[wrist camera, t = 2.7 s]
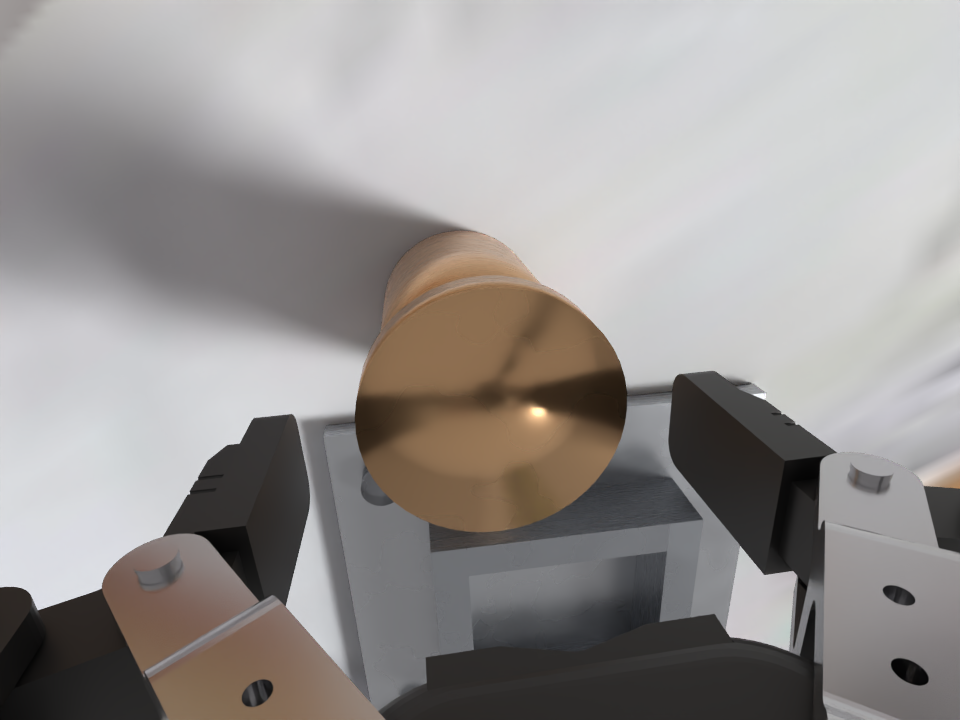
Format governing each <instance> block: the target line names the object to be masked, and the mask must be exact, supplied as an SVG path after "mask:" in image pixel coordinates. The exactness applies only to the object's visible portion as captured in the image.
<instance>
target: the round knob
mask: <svg viewBox="0 0 960 720" xmlns="http://www.w3.org/2000/svg"><path fill="white" fill-rule="evenodd" d="M626 413H627V389H626V383H625V377H624V374H623V370H622V367H621V364H620V361H619V359H618V357H617V355H616V353H615V351H614V349H613V347H612V346H611V344H610V343H609V341H608V340H607V338H606V337H605V336H604V334H603V333H602V332H601V331H600V330H599V329H598V328H597V327H596V326H595V325H594V323H593V322H592V321H591V320H590V319H589V318H588V317H587V316H586V315H585V314H584V313H583V312H582V311H581V310H580V309H579V308H578V307H577V306H576V305H575V304H574V303H572V302H571V301H570V300H569V299H567V298H566V297H565V296H563V295H561V294H560V293H558V292H556V291H554V290H553V289H551V288H549V287H546V286H544V285H541V284H540V283H539V281H538V280H537V279H536V278H535V277H534V276H533V274H532V273H531V272H530V271H529V270H528V269H527V267H526V266H525V265H524V264H523V263H522V261H521V260H520V259H519V258H518V257H517V256H516V255H515V254H514V253H513V251H512V250H511V249H509V248H508V247H507V246H506V245H504V244H503V243H501V242H500V241H498V240H496V239H495V238H492V237H490V236H487V235H485V234H481V233H478V232H472V231H449V232H443V233H440V234H436V235H433V236H431V237H429V238H426V239H424V240H423V241H421V242H419V243H418V244H416V245H415V246H414V247H412V248H411V249H410V250H409V251H408V252H407V253H406V254H405V255H404V256H403V257H402V258H401V259H400V260H399V262H398V263H397V265H396V266H395V268H394V270H393V271H392V273H391V275H390V278H389V281H388V283H387V287H386V292H385V299H384V307H383V315H382V324H381V332H380V333H379V335H378V336H377V338H376V340H375V341H374V343H373V345H372V347H371V349H370V350H369V353H368V355H367V358H366V361H365V363H364V366H363V370H362V374H361V379H360V384H359V389H358V395H357V401H356V411H355V428H356V437H357V442H358V446H359V450H360V453H361V456H362V458H363V461H364V463H365V466H366V467H367V469H368V471H369V473H370V474H371V476H372V478H373V479H374V481H375V482H376V483H377V484H378V486H379V487H380V488H381V490H382V491H383V492H384V493H385V494H386V495H387V496H388V497H389V498H390V499H391V500H392V501H393V502H395V503H396V504H397V505H399V506H400V507H401V508H403V509H404V510H406V511H407V512H409V513H411V514H412V515H414V516H416V517H418V518H420V519H422V520H424V521H427V522H429V523H432V524H434V525H438V526H441V527H445V528H449V529H454V530H460V531H467V532H493V531H503V530H508V529H514V528H518V527H522V526H525V525H529V524H532V523H534V522H537V521H539V520H542V519H544V518H547V517H549V516H551V515H552V514H554V513H556V512H558V511H560V510H562V509H563V508H565V507H566V506H568V505H569V504H571V503H572V502H574V501H575V500H576V499H577V498H578V497H580V496H581V495H582V494H583V493H584V492H586V491H587V490H588V489H589V488H590V486H591V485H592V484H593V483H594V482H595V481H596V480H597V479H598V478H599V476H600V475H601V474H602V472H603V471H604V470H605V468H606V467H607V466H608V464H609V462H610V460H611V459H612V457H613V455H614V454H615V451H616V449H617V447H618V444H619V442H620V440H621V436H622V433H623V429H624V426H625V420H626Z"/></svg>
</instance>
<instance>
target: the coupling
mask: <svg viewBox="0 0 960 720" xmlns="http://www.w3.org/2000/svg"><path fill="white" fill-rule="evenodd" d="M735 387H737V388H738V389H739V390H742V391H744V392H747V393H749V394H752V395H754V396H757V397H759V398H761V399H764V400H765V397H766V393H765V392H764V391H763V390H761V389H760V388H759V387H757V386H756V385H755V384H747V385H737V386H735ZM671 401H672V392H665V393H655V394H645V395H635V396H627V413H626V420H625V426H624V429H623V433H622V436H621V440H620V442H619V444H618V447H617V449H616V451H615V454H614V455H613V457H612V459H611V460H610V462H609V464H608V466H607V467H606V468H605V470H604V471H603V472H602V474H601V475H600V476H599V478H598V479H597V480H596V481H595V482H594V483H593V484H592V485H591V486H590V488H589V489H588V490H587V491H586V492H584V493H583V494H582V495H581V496H580V497H578V498H577V499H576V500H575V501H574V502H572V503H571V504H569V505H568V506H566V507H565V508H563V509H562V510H560V511H558V512H556V513H554V514H552V515H551V516H549V517H547V518H544V519H542V520H539V521H537V522H534V523H532V524H529V525H525V526H522V527H518V528H514V529H508V530H503V531H493V532H467V531H460V530H454V529H449V528H445V527H441V526H438V525H434V524H432V523H429V522H427V521H424V520H422V519H420V518H418V517H416V516H414V515H412V514H411V513H409V512H407V511H406V510H404V509H403V508H401V507H400V506H399V505H397V504H396V503H395V502H393V501H392V500H391V499H390V498H389V497H388V496H387V495H386V494H385V493H384V492H383V491H382V490H381V488H380V487H379V486H378V484H377V483H376V482H375V481H374V479H373V478H372V476H371V474H370V473H369V471H368V469H367V467H366V466H365V463H364V461H363V458H362V456H361V453H360V450H359V446H358V442H357V437H356V428H355V423H349V424H338V425H328V426H326V428H325V432H324V436H323V439H324V445H325V451H326V456H327V462H328V467H329V473H330V479H331V484H332V490H333V495H334V501H335V507H336V512H337V518H338V523H339V529H340V535H341V540H342V546H343V551H344V557H345V563H346V568H347V574H348V580H349V585H350V591H351V596H352V602H353V608H354V613H355V619H356V624H357V630H358V636H359V641H360V647H361V652H362V658H363V664H364V669H365V675H366V680H367V686H368V692H369V697H370V703H371V704H372V705H373V706H374V707H375V708H376V709H377V711H379V710H380V709H381V708H383V707H384V706H386V705H387V704H388V703H390V702H391V701H393V700H394V699H396V698H397V697H399V696H401V695H403V694H404V693H406V692H408V691H410V690H412V689H414V688H416V687H418V686H421V685H423V684H425V683H427V676H426V657H431V656H438V655H444V654H451V653H458V652H464V651H471V650H477V649H484V648H491V647H497V646H504V647H517V648H531V649H544V650H558V651H583V650H586V649H588V648H591V647H593V646H596V645H598V644H600V643H603V642H605V641H607V640H610V639H612V638H614V637H617V636H619V635H622V634H624V633H626V632H629V631H631V630H633V629H636V628H638V627H641V626H643V625H645V624H650V623H657V622H663V621H670V620H677V619H683V618H690V617H696V616H703V615H710V614H715V615H716V617H717V618H718V620H719V621H720V623H721V624H722V626H723V627H724V629H726V623H727V618H728V612H729V606H730V600H731V594H732V589H733V583H734V577H735V571H736V565H737V560H738V554H739V548H740V545H739V543H738V542H737V541H736V540H735V539H734V537H733V536H732V535H731V534H730V533H729V531H728V530H727V529H726V528H725V526H724V525H723V524H722V523H721V522H720V520H719V519H718V518H717V517H716V516H715V514H714V513H713V512H712V511H711V510H710V508H709V507H708V506H707V505H706V503H705V502H704V501H703V500H702V499H701V497H700V496H699V495H698V494H697V493H696V491H695V490H694V489H693V488H692V486H691V485H690V484H689V483H688V482H687V480H686V479H685V478H684V477H683V476H682V474H681V473H680V472H679V471H678V470H677V468H676V467H675V465H674V463H673V461H672V459H671V456H670V452H669V445H668V436H669V424H670V412H671Z"/></svg>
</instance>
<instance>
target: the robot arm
mask: <svg viewBox="0 0 960 720" xmlns="http://www.w3.org/2000/svg"><path fill="white" fill-rule="evenodd" d="M668 445H669V452H670V456H671V459H672V461H673V463H674V465H675V467H676V468H677V470H678V471H679V472H680V473H681V474H682V476H683V477H684V478H685V479H686V480H687V482H688V483H689V484H690V485H691V486H692V488H693V489H694V490H695V491H696V493H697V494H698V495H699V496H700V497H701V499H702V500H703V501H704V502H705V503H706V505H707V506H708V507H709V508H710V510H711V511H712V512H713V513H714V514H715V516H716V517H717V518H718V519H719V520H720V522H721V523H722V524H723V525H724V526H725V528H726V529H727V530H728V531H729V533H730V534H731V535H732V536H733V537H734V539H735V540H736V541H737V542H738V543H739V545H740V546H741V547H742V548H743V549H744V551H745V552H746V553H747V554H748V556H749V557H750V558H751V559H752V560H753V562H754V563H755V564H756V565H757V566H758V568H759V569H760V570H761V571H762V573H763V574H764V575H767V574H774V573H781V572H788V571H794V572H795V573H796V574H797V579H796V584H795V589H794V596H793V609H792V622H791V635H790V648H789V651H786V650H783V649H781V648H778V647H775V646H772V645H768V644H764V643H760V642H757V641H751V640H746V639H740V638H731V637H729V635H728V634H727V632H726V631H725V629H724V627H723V626H722V624H721V623H720V621H719V620H718V618H717V617H716V615H715V614H710V615H703V616H696V617H690V618H683V619H677V620H670V621H663V622H657V623H650V624H645V625H643V626H641V627H638V628H636V629H633V630H631V631H629V632H626V633H624V634H622V635H619V636H617V637H614V638H612V639H610V640H607V641H605V642H603V643H600V644H598V645H596V646H593V647H591V648H588V649H586V650H583V651H558V650H544V649H531V648H517V647H504V646H497V647H491V648H484V649H477V650H471V651H464V652H458V653H451V654H444V655H438V656H431V657H426V676H427V683H425V684H423V685H421V686H418V687H416V688H414V689H412V690H410V691H408V692H406V693H404V694H403V695H401V696H399V697H397V698H396V699H394V700H393V701H391V702H390V703H388V704H387V705H386V706H384V707H383V708H381V709H380V710H379V711H377V709H376V708H375V707H374V706H373V705H372V704H371V703H370V702H369V700H368V699H367V698H366V697H365V696H364V695H363V694H362V693H361V691H360V690H359V689H358V688H357V687H356V686H355V685H354V683H353V682H352V681H351V680H350V679H349V678H348V677H347V676H346V674H345V673H344V672H343V671H342V670H341V669H340V668H339V667H338V665H337V664H336V663H335V662H334V661H333V660H332V659H331V657H330V656H329V655H328V654H327V653H326V652H325V651H324V650H323V648H322V647H321V646H320V645H319V644H318V643H317V642H316V641H315V639H314V638H313V637H312V636H311V635H310V634H309V633H308V632H307V630H306V629H305V628H304V627H303V626H302V625H301V624H300V622H299V621H298V620H297V619H296V618H295V617H294V616H293V615H292V613H291V612H290V611H289V610H288V609H287V608H286V607H285V606H286V602H287V598H288V594H289V590H290V586H291V582H292V578H293V573H294V569H295V565H296V561H297V557H298V553H299V549H300V545H301V541H302V537H303V533H304V528H305V524H306V520H307V516H308V512H309V505H310V490H309V481H308V476H307V471H306V466H305V461H304V456H303V451H302V446H301V441H300V436H299V431H298V426H297V422H296V419H295V417H294V416H293V415H292V414H289V415H279V416H270V417H260V418H254V419H253V420H252V421H251V423H250V425H249V427H248V429H247V431H246V433H245V435H244V437H243V439H242V441H241V443H240V444H234V445H227V446H226V447H224V448H223V449H222V450H221V451H219V452H218V453H217V454H216V455H214V456H213V457H212V458H211V459H209V460H208V461H207V463H206V465H205V466H204V468H203V470H202V472H201V473H200V475H199V477H198V480H197V481H196V482H195V483H194V485H193V487H192V488H191V490H190V495H187V497H186V499H185V500H184V502H183V504H182V505H181V507H180V509H179V510H178V512H177V514H176V515H175V517H174V519H173V521H172V522H171V524H170V526H169V527H168V529H167V531H166V532H165V534H164V536H163V537H161V538H158V539H155V540H152V541H150V542H147V543H145V544H143V545H141V546H139V547H137V548H135V549H134V550H132V551H131V552H129V553H127V554H126V555H125V556H123V557H122V558H121V559H119V560H118V561H117V562H116V563H115V564H114V565H113V566H112V567H111V569H110V570H109V571H108V573H107V574H106V576H105V577H104V580H103V583H102V589H100V590H98V591H95V592H92V593H89V594H86V595H83V596H80V597H77V598H74V599H71V600H68V601H65V602H62V603H59V604H56V605H53V606H50V607H47V608H44V609H41V610H37V608H36V606H35V604H34V601H33V599H32V597H31V595H30V594H29V593H28V592H27V591H26V590H24V589H22V588H17V587H2V588H0V720H960V489H956V488H942V487H929V486H923V483H922V481H921V480H920V479H919V478H918V477H917V476H916V475H915V474H914V473H913V472H911V471H910V470H909V469H907V468H905V467H903V466H902V465H900V464H897V463H895V462H893V461H890V460H888V459H885V458H882V457H878V456H874V455H870V454H864V453H856V452H840V453H837V452H835V451H834V450H833V449H831V448H830V447H829V446H827V445H826V444H824V443H823V442H822V441H820V440H819V439H818V438H816V437H815V436H813V435H812V434H811V433H809V432H808V431H807V430H805V429H804V428H802V427H801V426H800V425H795V422H794V421H793V420H792V419H790V418H789V417H787V416H786V415H785V414H783V415H782V414H781V411H779V410H778V409H776V408H775V407H774V406H772V405H771V404H770V403H768V402H767V401H766V400H764V399H761V398H759V397H757V396H754V395H752V394H749V393H747V392H744V391H742V390H739V389H738V388H737V387H735V386H734V385H733V384H731V383H730V382H729V381H727V380H726V379H725V378H723V377H722V376H721V375H719V374H718V373H717V372H715V371H707V372H697V373H688V374H679V375H677V376H676V378H675V380H674V383H673V389H672V401H671V412H670V424H669V436H668Z"/></svg>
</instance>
